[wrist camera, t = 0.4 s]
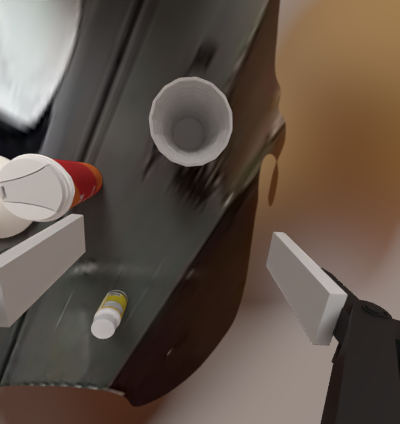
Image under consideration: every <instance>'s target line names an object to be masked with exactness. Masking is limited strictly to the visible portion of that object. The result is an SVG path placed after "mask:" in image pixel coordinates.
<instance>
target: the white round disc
mask: <svg viewBox="0 0 400 424" xmlns="http://www.w3.org/2000/svg"><path fill="white" fill-rule="evenodd" d="M10 161H11V160H9V159H7V158H5V157H3V156H0V170H1V169H2V168H3V167H4V165H6V164H7V163H8V162H10ZM2 202H4V201H3V200H2V198H0V238H6V237H10V236H14V235H16V234H18V233H20V232H22V231H24V230H25V229H26V228H28V227H29V226H30V225H31V224H32V222H33V221H31V220H26V219H23V218H20V217H18V216H16V215H14V214H13V213H11V212H10V211H9V210H8V209H7V208H6V207H5V206H4V205H3V203H2Z"/></svg>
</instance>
